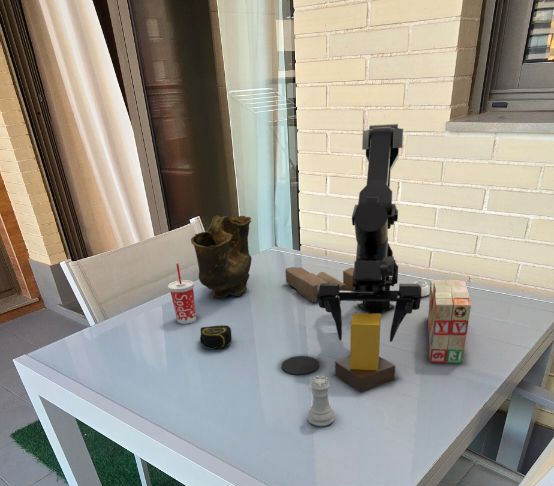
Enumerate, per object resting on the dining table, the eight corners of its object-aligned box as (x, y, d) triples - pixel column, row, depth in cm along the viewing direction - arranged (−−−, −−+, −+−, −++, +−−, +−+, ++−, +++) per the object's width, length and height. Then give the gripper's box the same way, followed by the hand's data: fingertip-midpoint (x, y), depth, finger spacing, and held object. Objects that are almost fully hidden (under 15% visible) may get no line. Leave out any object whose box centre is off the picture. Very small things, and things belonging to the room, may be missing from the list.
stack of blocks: (427, 319, 123) (432, 265, 116) (455, 319, 122) (462, 265, 115) (429, 363, 106) (435, 303, 99) (463, 364, 105) (471, 303, 98)
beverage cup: (169, 323, 131) (158, 266, 123) (182, 314, 136) (172, 258, 128) (191, 326, 129) (181, 268, 121) (203, 316, 133) (195, 259, 126)
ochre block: (352, 357, 104) (353, 313, 99) (379, 357, 103) (380, 313, 98) (350, 369, 100) (350, 324, 95) (377, 370, 99) (379, 324, 94)
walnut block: (335, 375, 104) (334, 361, 103) (368, 363, 107) (368, 350, 106) (360, 392, 98) (360, 378, 97) (394, 379, 101) (395, 365, 100)
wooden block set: (314, 283, 131) (283, 264, 145) (314, 305, 135) (285, 284, 149) (373, 269, 137) (338, 252, 150) (373, 291, 140) (338, 272, 154)
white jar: (413, 289, 139) (406, 296, 135) (414, 278, 137) (407, 284, 134) (432, 292, 136) (425, 298, 133) (433, 280, 135) (426, 287, 131)
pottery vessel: (228, 275, 158) (219, 204, 147) (263, 276, 155) (257, 204, 144) (191, 307, 139) (179, 228, 128) (230, 310, 135) (221, 229, 124)
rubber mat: (274, 364, 110) (274, 362, 110) (306, 353, 113) (306, 352, 113) (294, 379, 104) (294, 377, 104) (326, 367, 107) (326, 366, 107)
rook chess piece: (306, 414, 93) (304, 374, 89) (331, 412, 94) (331, 371, 89) (309, 429, 90) (308, 387, 85) (336, 426, 90) (336, 384, 85)
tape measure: (232, 337, 122) (230, 322, 120) (232, 350, 116) (230, 334, 114) (202, 340, 122) (199, 324, 120) (200, 353, 116) (198, 337, 114)
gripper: (316, 239, 95) (308, 322, 92) (425, 237, 91) (420, 325, 88) (323, 268, 106) (316, 344, 103) (421, 268, 102) (417, 347, 99)
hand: (365, 340), depth 98 cm, fingers open, 9 cm apart
